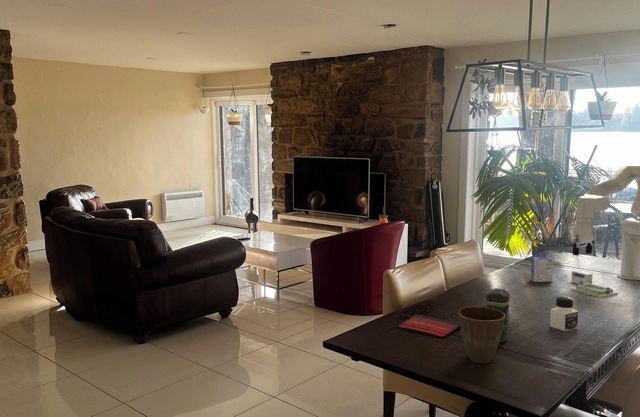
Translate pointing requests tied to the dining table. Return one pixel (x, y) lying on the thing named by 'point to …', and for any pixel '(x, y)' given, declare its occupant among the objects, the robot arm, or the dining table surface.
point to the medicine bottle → (564, 314)
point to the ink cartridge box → (541, 268)
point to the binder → (430, 326)
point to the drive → (581, 277)
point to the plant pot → (481, 332)
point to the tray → (594, 290)
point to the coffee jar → (500, 307)
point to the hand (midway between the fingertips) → (582, 254)
